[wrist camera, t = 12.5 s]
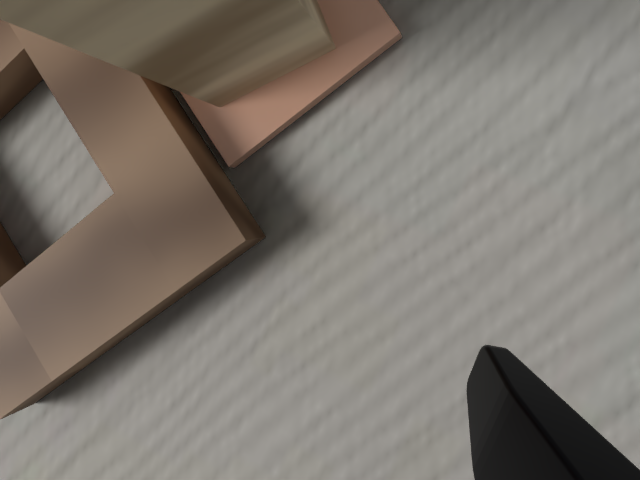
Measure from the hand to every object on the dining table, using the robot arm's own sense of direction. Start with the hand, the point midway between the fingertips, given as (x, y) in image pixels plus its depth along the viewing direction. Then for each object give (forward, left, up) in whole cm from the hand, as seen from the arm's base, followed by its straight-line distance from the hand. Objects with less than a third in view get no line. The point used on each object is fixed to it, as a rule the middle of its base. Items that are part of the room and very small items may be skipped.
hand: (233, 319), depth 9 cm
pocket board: (+11, +9, -11) cm, 18 cm away
